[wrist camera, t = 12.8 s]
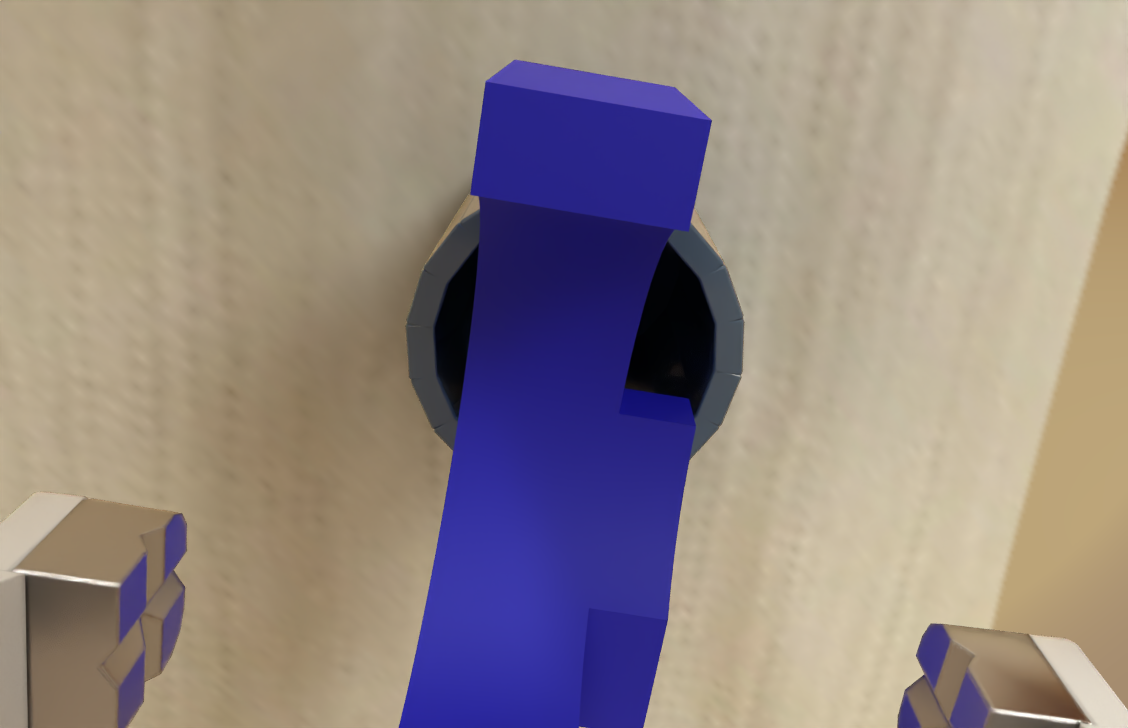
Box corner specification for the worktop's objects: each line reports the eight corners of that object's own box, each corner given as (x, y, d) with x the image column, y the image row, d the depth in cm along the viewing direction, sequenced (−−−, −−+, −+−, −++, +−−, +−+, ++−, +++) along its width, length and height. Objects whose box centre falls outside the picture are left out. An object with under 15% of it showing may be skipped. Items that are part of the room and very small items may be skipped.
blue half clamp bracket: (634, 646, 23) (650, 853, 18) (434, 616, 23) (384, 813, 17) (753, 100, 19) (823, 139, 14) (515, 59, 19) (485, 81, 14)
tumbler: (472, 110, 28) (424, 154, 20) (721, 150, 29) (779, 211, 20) (442, 345, 31) (388, 476, 22) (674, 381, 31) (708, 524, 22)
